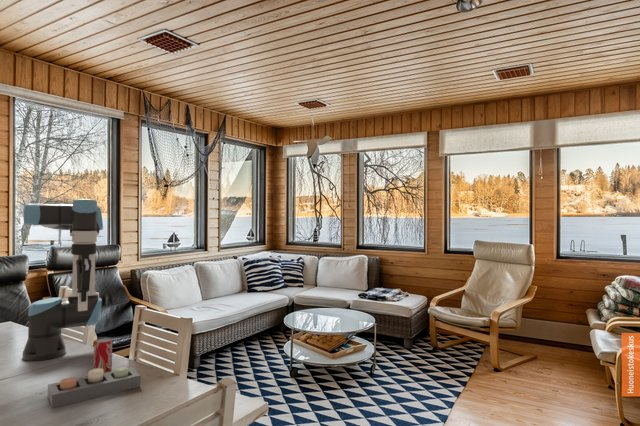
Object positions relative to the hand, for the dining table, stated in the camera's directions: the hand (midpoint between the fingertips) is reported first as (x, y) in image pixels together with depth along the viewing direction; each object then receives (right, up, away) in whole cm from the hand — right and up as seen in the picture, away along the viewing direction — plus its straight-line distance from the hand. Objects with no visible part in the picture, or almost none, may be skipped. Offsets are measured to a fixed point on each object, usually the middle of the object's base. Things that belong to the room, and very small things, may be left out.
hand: (82, 310), depth 143 cm
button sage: (+13, -24, +1) cm, 27 cm away
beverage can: (0, -27, +13) cm, 30 cm away
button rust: (+1, -24, -9) cm, 26 cm away
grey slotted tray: (+7, -27, -4) cm, 28 cm away
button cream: (+7, -23, -4) cm, 24 cm away
